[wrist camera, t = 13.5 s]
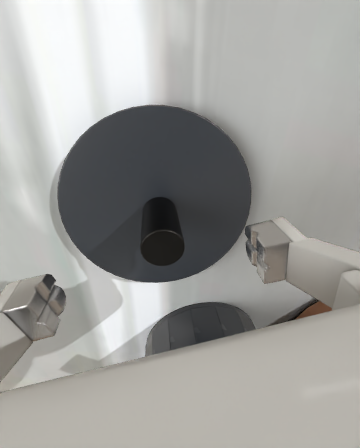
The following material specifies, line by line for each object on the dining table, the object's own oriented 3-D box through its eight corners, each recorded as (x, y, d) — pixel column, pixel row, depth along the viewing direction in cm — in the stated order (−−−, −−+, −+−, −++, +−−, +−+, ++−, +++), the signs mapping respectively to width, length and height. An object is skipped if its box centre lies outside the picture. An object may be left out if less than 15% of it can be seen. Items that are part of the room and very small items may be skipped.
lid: (168, 294, 22) (174, 352, 17) (27, 217, 16) (-26, 270, 11) (279, 193, 18) (329, 230, 13) (142, 46, 12) (136, 11, 7)
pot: (214, 385, 31) (237, 488, 23) (102, 342, 24) (78, 471, 16) (286, 338, 28) (344, 440, 19) (181, 271, 20) (202, 388, 12)
